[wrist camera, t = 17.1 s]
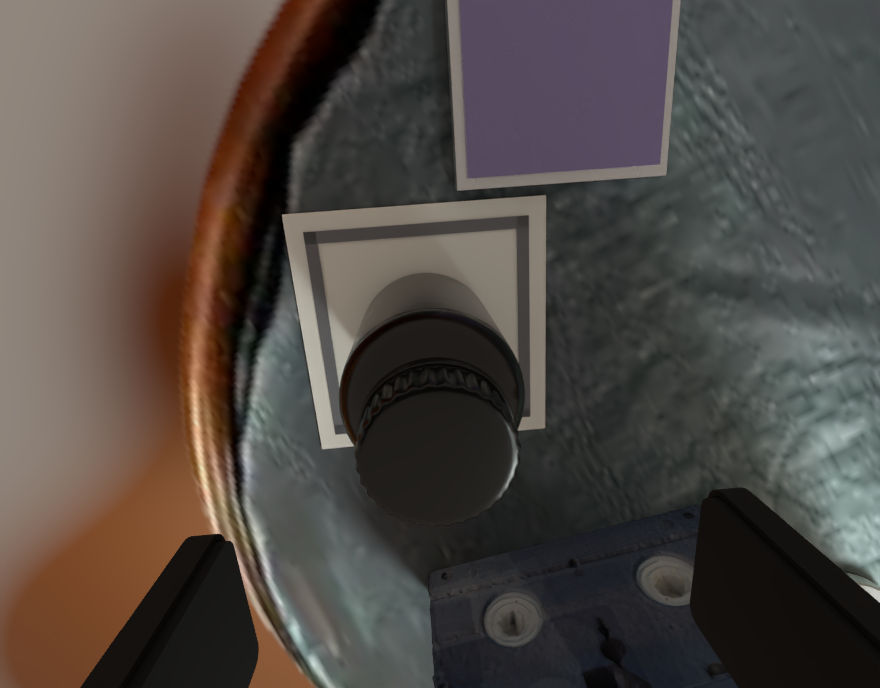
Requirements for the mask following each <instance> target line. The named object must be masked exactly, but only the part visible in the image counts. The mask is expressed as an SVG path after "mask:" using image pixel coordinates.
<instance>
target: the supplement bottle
mask: <svg viewBox="0 0 880 688" xmlns="http://www.w3.org/2000/svg"><path fill="white" fill-rule="evenodd" d="M524 406H525V385H524V379H523V374H522V371H521V368H520V365H519V363H518V361H517V359H516V357H515V354H514V353H513V351H512V349H511V348H510V346H509V344H508V343H507V341H506V340H505V338H504V336H503V335H502V333H501V332H500V330H499V329H498V327H497V325H496V324H495V322H494V321H493V319H492V317H491V316H490V314H489V313H488V311H487V310H486V308H485V306H484V305H483V304H482V302H481V301H480V300H479V298H478V297H477V296H476V295H475V294H474V292H473V291H472V290H470V289H469V288H468V287H467V286H465V285H464V284H463V283H461V282H459V281H458V280H456V279H453V278H451V277H448V276H445V275H442V274H437V273H416V274H411V275H407V276H404V277H402V278H399V279H397V280H395V281H393V282H392V283H390V284H388V285H387V286H386V287H385V288H383V289H382V290H381V291H380V292H379V293H378V294H377V295H376V297H375V298H374V299H373V300H372V302H371V303H370V305H369V307H368V309H367V310H366V313H365V315H364V317H363V320H362V322H361V325H360V327H359V330H358V333H357V335H356V338H355V340H354V343H353V346H352V348H351V351H350V353H349V356H348V358H347V361H346V364H345V366H344V370H343V373H342V377H341V382H340V387H339V409H340V415H341V419H342V423H343V426H344V428H345V431H346V433H347V435H348V437H349V439H350V440H351V442H352V444H353V445H354V447H355V452H354V453H355V457H356V460H357V462H356V470H357V472H358V473H359V474H360V481H361V484H362V485H363V486H364V487H365V488H366V489H367V493H368V496H370V497H371V498H373V499H374V500H375V501H376V504H377V505H378V506H379V507H381V508H384V509H386V511H387V512H388V513H389V514H390V515H393V516H398V517H399V518H400V519H401V520H402V521H411V522H413V523H415V524H417V525H422V524H426V525H429V526H437V525H447V526H448V525H451V524H453V523H461V522H464V521H466V520H467V519H469V518H474V517H477V516H478V515H479V514H480V513H481V512H483V511H486V510H488V509H490V508H491V507H492V505H493V504H494V503H495V502H497V501H499V500H500V499H501V498H502V495H503V493H504V492H506V491H507V490H508V489H509V488H510V485H511V481H512V480H513V479H514V478H515V476H516V468H517V467H518V465H519V463H520V457H519V452H520V449H521V444H520V442H519V439H518V428H519V425H520V422H521V419H522V416H523V411H524Z"/></svg>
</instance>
